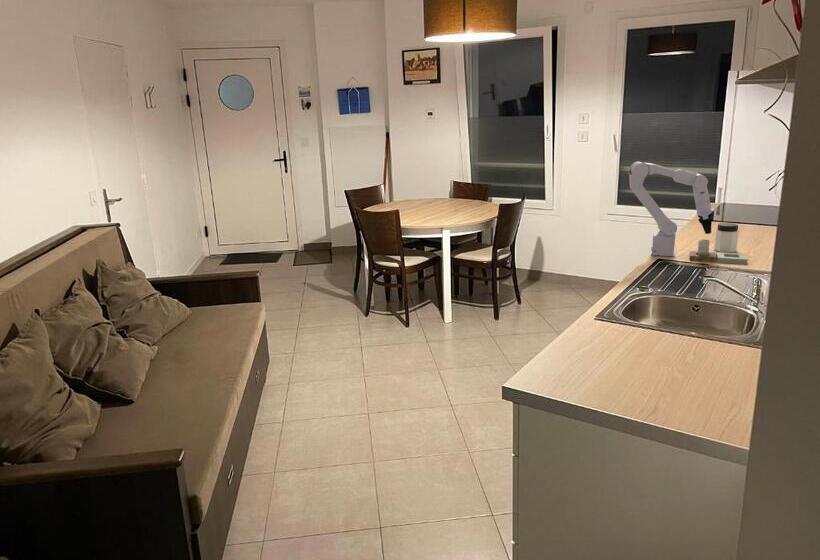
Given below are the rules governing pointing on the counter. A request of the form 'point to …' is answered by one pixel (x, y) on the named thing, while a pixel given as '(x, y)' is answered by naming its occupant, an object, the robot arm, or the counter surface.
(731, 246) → the jar
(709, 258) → the socket block
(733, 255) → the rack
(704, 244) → the peg
